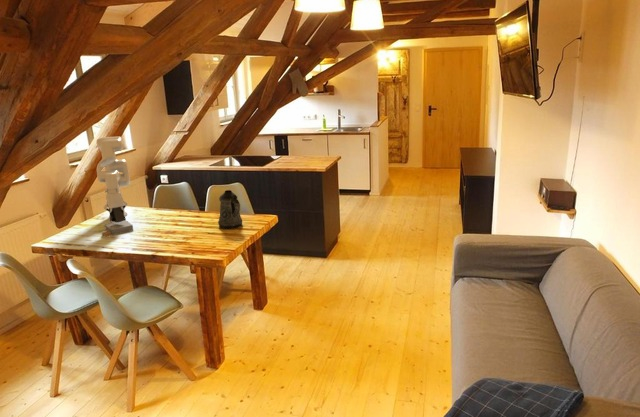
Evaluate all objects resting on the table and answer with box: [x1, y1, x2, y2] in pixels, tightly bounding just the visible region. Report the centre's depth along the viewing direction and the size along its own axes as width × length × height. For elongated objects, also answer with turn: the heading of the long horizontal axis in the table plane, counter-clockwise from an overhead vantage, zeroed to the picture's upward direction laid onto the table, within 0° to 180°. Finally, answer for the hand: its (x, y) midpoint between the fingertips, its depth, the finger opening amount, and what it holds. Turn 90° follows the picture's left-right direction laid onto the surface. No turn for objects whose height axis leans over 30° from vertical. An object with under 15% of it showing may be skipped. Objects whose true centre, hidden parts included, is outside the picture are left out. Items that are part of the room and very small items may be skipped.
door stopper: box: [109, 207, 127, 223], centre depth 318 cm, size 9×6×12 cm, turn 62°
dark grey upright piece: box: [217, 189, 243, 230], centre depth 320 cm, size 16×19×25 cm
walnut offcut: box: [101, 230, 112, 238], centre depth 310 cm, size 5×4×3 cm
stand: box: [104, 219, 134, 236], centre depth 321 cm, size 16×14×4 cm
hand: (117, 216), depth 319 cm, fingers closed on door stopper, 6 cm apart
